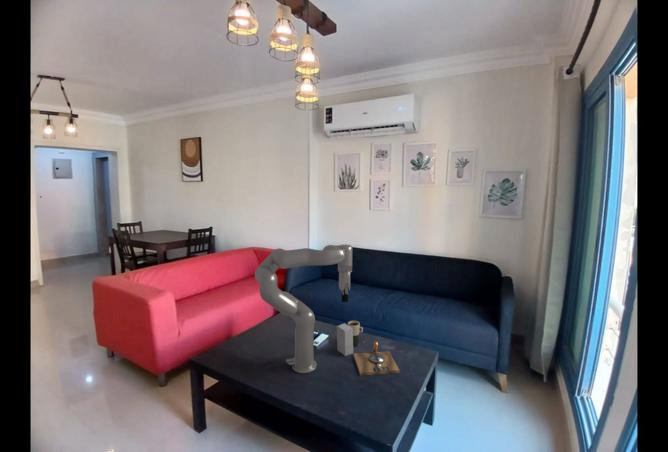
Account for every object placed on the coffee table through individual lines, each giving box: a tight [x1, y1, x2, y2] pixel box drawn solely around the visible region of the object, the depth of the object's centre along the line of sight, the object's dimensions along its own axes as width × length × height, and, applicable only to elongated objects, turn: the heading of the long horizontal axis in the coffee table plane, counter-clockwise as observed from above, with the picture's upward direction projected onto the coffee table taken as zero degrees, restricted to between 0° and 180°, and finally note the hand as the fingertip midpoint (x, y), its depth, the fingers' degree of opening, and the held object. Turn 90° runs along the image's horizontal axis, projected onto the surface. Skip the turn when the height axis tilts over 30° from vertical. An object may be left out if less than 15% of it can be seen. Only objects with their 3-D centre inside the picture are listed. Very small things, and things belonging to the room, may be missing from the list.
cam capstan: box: [369, 340, 385, 368], centre depth 164 cm, size 18×8×6 cm, turn 179°
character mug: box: [347, 320, 364, 347], centre depth 184 cm, size 11×7×13 cm, turn 75°
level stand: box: [352, 350, 400, 377], centre depth 164 cm, size 20×18×2 cm
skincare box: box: [336, 323, 354, 357], centre depth 176 cm, size 8×6×15 cm
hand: (344, 301), depth 169 cm, fingers closed
